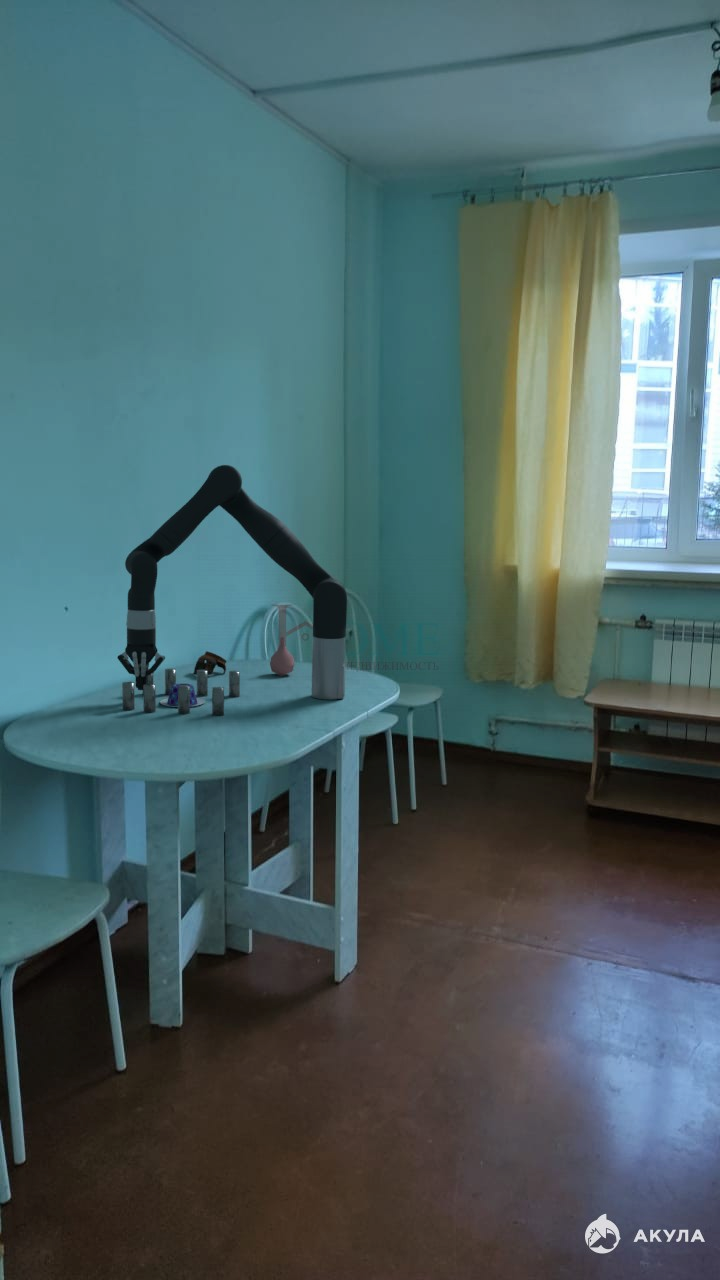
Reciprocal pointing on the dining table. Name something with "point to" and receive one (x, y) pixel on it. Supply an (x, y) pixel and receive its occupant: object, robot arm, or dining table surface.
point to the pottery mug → (210, 663)
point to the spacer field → (182, 692)
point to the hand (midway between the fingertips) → (141, 689)
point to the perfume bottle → (282, 660)
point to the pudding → (174, 697)
